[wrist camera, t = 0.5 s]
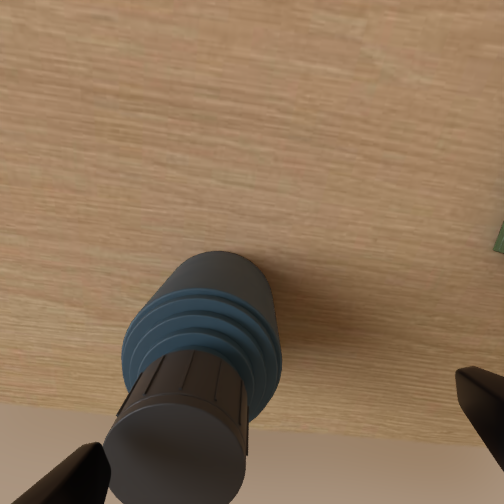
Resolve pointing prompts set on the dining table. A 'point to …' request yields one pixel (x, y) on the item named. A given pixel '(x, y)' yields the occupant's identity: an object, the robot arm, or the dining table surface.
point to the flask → (211, 323)
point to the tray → (500, 241)
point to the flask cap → (181, 433)
